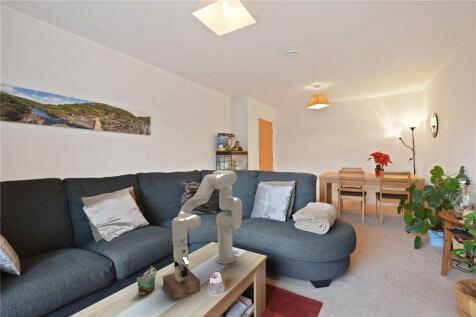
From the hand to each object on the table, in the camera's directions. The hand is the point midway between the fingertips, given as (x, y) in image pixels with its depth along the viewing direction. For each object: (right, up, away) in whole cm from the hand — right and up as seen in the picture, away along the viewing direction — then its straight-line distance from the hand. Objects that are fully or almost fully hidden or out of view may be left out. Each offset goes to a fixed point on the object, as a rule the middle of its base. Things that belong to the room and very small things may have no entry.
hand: (180, 272), depth 120 cm
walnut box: (0, -8, 0) cm, 8 cm away
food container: (-16, -9, -2) cm, 18 cm away
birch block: (0, -3, 0) cm, 3 cm away
